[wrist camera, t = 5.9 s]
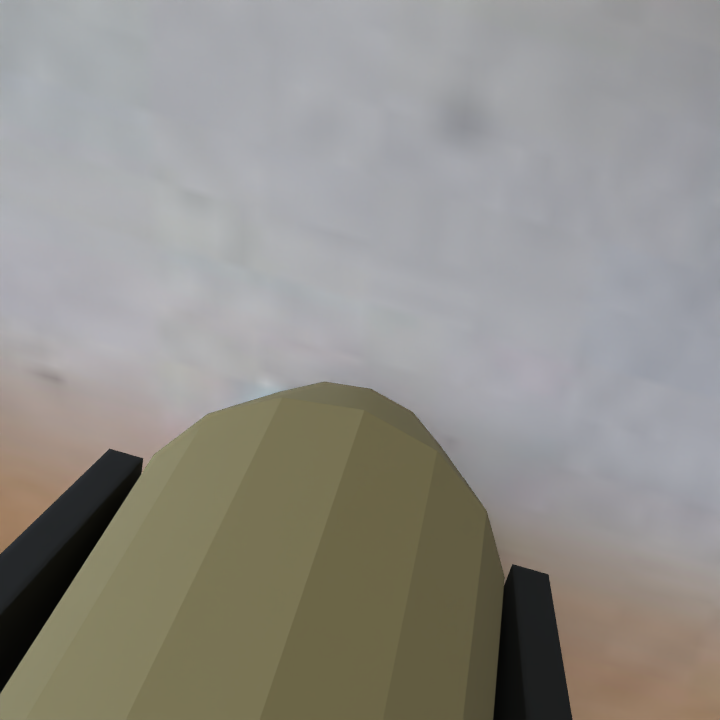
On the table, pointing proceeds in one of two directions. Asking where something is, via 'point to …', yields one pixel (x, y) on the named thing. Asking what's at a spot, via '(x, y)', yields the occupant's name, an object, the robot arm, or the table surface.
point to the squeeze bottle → (281, 578)
